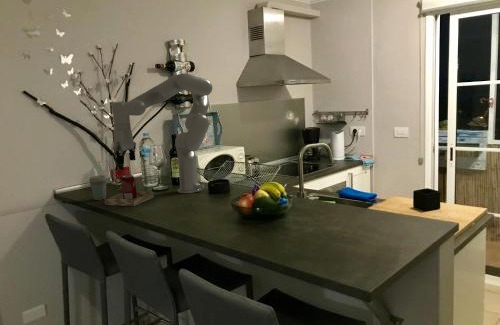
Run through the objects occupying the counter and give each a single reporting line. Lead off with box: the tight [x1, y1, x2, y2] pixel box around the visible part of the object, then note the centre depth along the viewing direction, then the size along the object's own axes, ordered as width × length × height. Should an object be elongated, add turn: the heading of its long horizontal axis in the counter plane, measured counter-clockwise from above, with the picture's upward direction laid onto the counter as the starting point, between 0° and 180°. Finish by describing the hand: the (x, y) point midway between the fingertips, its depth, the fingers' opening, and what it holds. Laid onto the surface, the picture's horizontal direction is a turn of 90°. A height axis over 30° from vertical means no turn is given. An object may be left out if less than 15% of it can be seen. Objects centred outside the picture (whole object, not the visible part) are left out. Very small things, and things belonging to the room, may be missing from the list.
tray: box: [103, 191, 155, 207], centre depth 208 cm, size 17×17×3 cm
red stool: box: [120, 174, 137, 200], centre depth 208 cm, size 7×7×12 cm
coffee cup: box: [88, 174, 107, 201], centre depth 216 cm, size 8×8×12 cm
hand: (126, 161), depth 206 cm, fingers open, 9 cm apart
